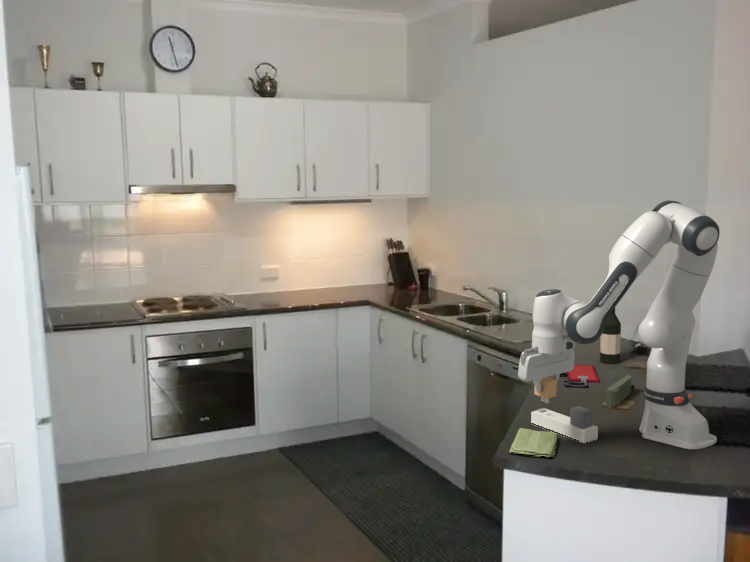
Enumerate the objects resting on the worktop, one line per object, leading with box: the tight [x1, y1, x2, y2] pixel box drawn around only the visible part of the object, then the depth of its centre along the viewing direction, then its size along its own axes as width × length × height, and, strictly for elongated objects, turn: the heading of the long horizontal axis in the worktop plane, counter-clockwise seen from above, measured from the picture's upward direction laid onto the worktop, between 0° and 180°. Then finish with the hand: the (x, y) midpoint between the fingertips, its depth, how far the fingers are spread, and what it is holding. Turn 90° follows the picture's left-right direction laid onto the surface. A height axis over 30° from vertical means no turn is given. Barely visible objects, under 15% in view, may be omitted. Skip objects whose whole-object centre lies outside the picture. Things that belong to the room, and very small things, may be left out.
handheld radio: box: [605, 374, 635, 409], centre depth 266 cm, size 7×3×25 cm
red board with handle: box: [559, 364, 600, 388], centre depth 293 cm, size 30×3×15 cm
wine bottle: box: [599, 307, 622, 365], centre depth 312 cm, size 8×8×30 cm
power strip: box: [530, 407, 599, 444], centre depth 235 cm, size 22×6×5 cm, turn 33°
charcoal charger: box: [569, 405, 593, 429], centre depth 228 cm, size 5×4×7 cm
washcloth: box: [508, 427, 558, 458], centre depth 223 cm, size 13×18×3 cm
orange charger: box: [533, 376, 558, 404], centre depth 221 cm, size 5×4×7 cm
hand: (545, 390), depth 221 cm, fingers closed on orange charger, 4 cm apart
